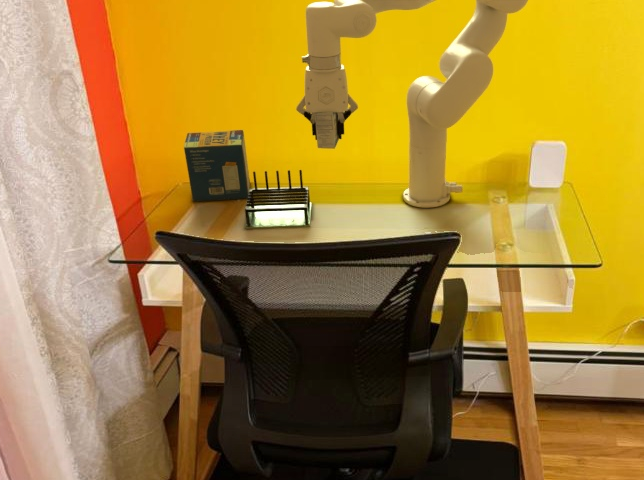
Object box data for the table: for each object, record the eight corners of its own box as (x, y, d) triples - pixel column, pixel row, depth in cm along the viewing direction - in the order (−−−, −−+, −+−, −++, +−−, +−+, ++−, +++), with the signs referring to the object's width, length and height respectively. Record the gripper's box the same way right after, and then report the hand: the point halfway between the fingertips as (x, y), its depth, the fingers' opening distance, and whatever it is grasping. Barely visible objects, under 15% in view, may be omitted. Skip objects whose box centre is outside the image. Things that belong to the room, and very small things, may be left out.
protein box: (195, 186, 222) (186, 132, 212) (250, 182, 222) (243, 129, 213) (192, 202, 213) (182, 147, 204) (249, 198, 214) (242, 144, 204)
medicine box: (335, 149, 190) (333, 113, 184) (316, 148, 190) (314, 113, 185) (340, 137, 196) (339, 102, 191) (322, 136, 196) (321, 102, 191)
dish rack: (311, 204, 210) (309, 168, 204) (309, 226, 200) (307, 189, 193) (250, 206, 210) (245, 170, 204) (245, 229, 200) (240, 191, 194)
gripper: (287, 67, 178) (293, 144, 189) (362, 64, 178) (363, 142, 189) (288, 57, 184) (294, 133, 195) (361, 55, 184) (363, 130, 195)
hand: (328, 136), depth 192 cm, fingers closed on medicine box, 5 cm apart
